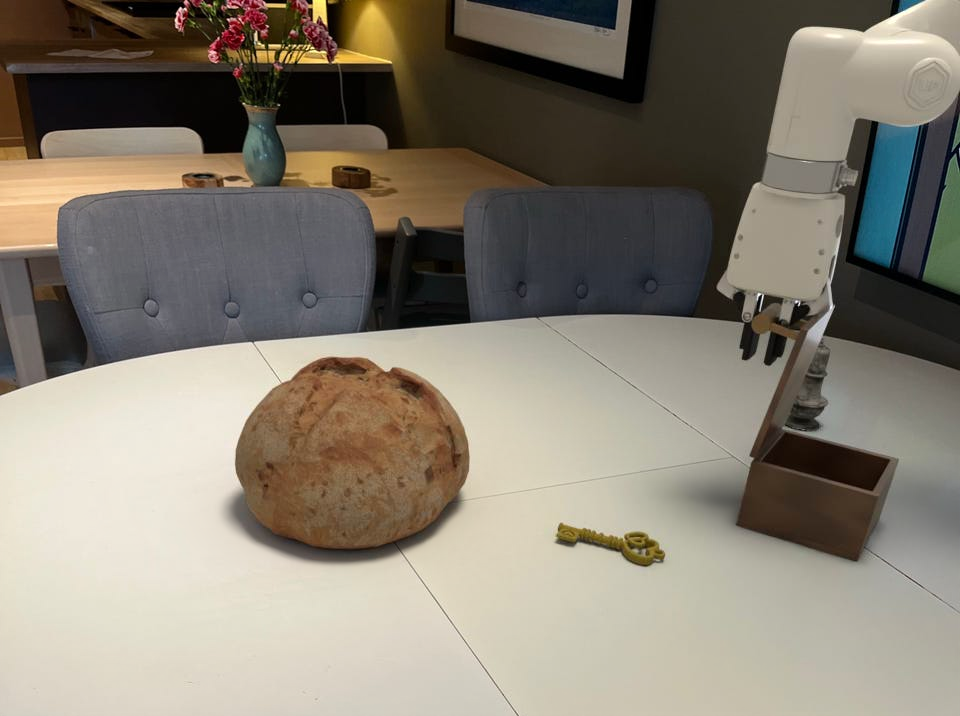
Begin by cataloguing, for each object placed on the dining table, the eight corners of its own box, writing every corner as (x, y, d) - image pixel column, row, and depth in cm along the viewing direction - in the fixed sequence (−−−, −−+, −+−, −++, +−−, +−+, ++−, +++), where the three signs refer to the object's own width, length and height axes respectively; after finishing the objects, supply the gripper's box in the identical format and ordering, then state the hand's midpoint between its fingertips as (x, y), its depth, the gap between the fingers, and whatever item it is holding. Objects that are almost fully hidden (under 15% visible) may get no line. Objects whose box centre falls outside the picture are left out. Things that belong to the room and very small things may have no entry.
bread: (386, 582, 96) (388, 438, 88) (191, 521, 104) (176, 383, 95) (496, 481, 117) (506, 356, 108) (326, 436, 124) (324, 316, 115)
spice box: (878, 520, 115) (899, 458, 110) (857, 561, 106) (878, 496, 102) (764, 488, 120) (780, 428, 115) (735, 525, 111) (751, 461, 107)
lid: (835, 304, 106) (781, 285, 108) (808, 330, 98) (750, 309, 99) (784, 425, 115) (735, 405, 117) (755, 459, 107) (703, 437, 108)
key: (552, 530, 105) (567, 511, 108) (551, 541, 105) (565, 521, 109) (660, 560, 101) (672, 539, 105) (658, 570, 102) (670, 549, 106)
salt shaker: (812, 435, 135) (836, 348, 128) (772, 422, 138) (793, 337, 131) (828, 423, 139) (852, 338, 132) (788, 411, 142) (810, 327, 135)
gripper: (890, 182, 97) (840, 366, 107) (735, 159, 103) (701, 335, 113) (875, 194, 91) (823, 386, 102) (711, 168, 97) (678, 352, 108)
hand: (759, 358), depth 107 cm, fingers closed on lid, 2 cm apart
